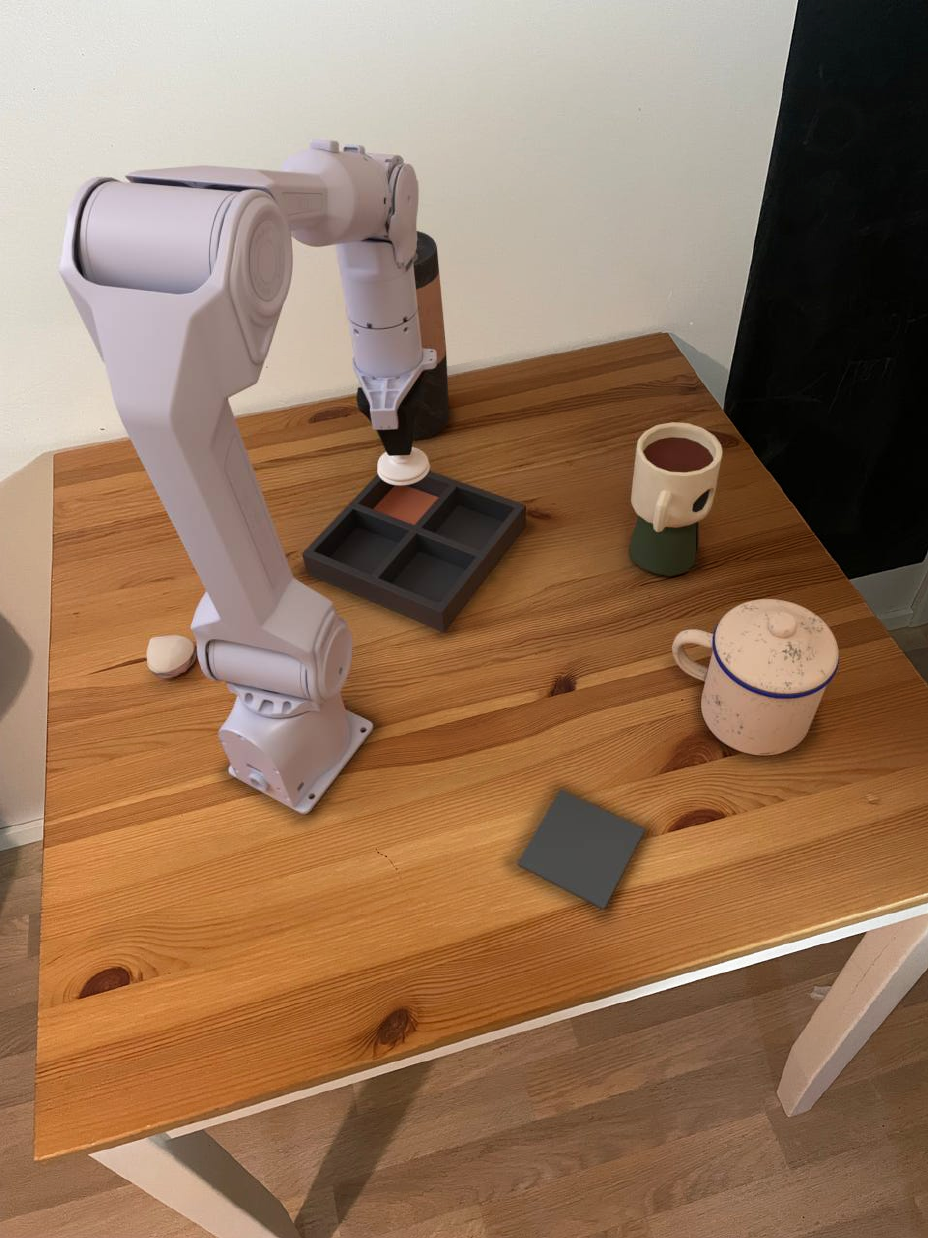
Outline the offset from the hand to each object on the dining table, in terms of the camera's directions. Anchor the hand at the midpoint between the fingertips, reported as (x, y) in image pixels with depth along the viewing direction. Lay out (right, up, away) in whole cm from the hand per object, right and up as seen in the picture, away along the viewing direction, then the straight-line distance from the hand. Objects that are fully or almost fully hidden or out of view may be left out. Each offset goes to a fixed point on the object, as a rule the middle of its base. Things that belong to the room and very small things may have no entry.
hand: (400, 444), depth 84 cm
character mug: (+25, -10, +3) cm, 27 cm away
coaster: (+15, -33, -16) cm, 39 cm away
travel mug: (+1, +6, +18) cm, 19 cm away
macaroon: (-20, -20, -2) cm, 28 cm away
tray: (+1, -9, +5) cm, 11 cm away
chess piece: (0, -2, +2) cm, 3 cm away
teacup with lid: (+28, -23, -9) cm, 38 cm away
